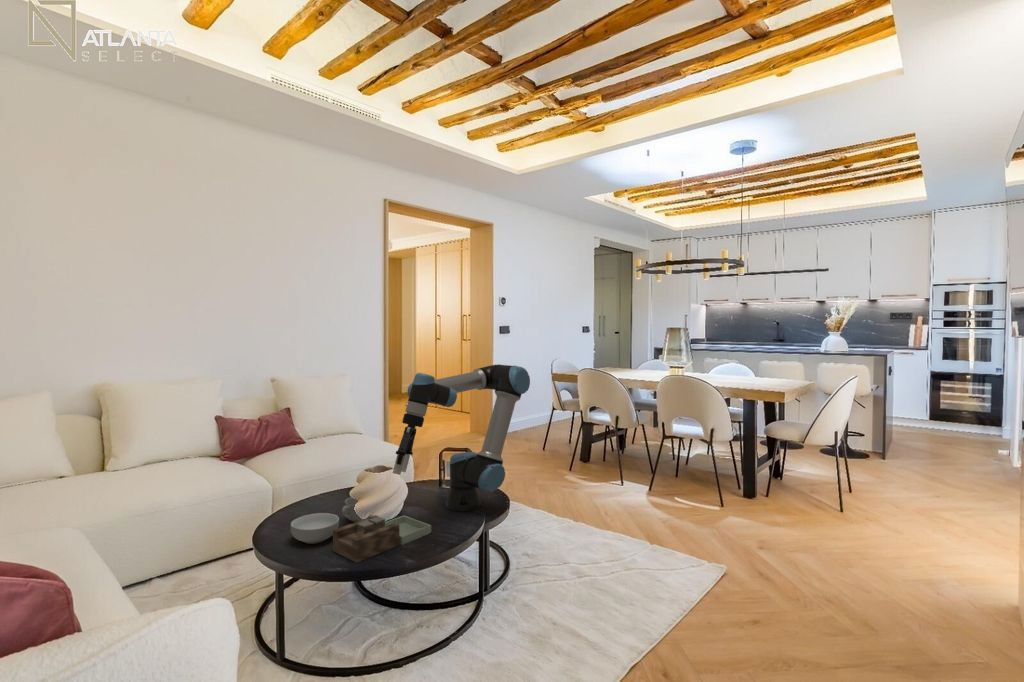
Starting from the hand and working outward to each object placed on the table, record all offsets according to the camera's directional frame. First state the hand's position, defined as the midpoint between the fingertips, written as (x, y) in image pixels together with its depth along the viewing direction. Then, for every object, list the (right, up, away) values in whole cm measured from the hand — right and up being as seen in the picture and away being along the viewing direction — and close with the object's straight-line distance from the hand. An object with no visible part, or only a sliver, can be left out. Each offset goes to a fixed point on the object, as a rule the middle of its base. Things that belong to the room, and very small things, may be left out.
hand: (399, 472), depth 186 cm
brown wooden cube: (-11, -21, -3) cm, 24 cm away
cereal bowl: (-32, -26, +5) cm, 42 cm away
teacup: (-23, -26, +23) cm, 42 cm away
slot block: (-11, -26, -2) cm, 29 cm away
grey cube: (-8, -21, +1) cm, 23 cm away
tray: (-1, -26, +11) cm, 28 cm away
